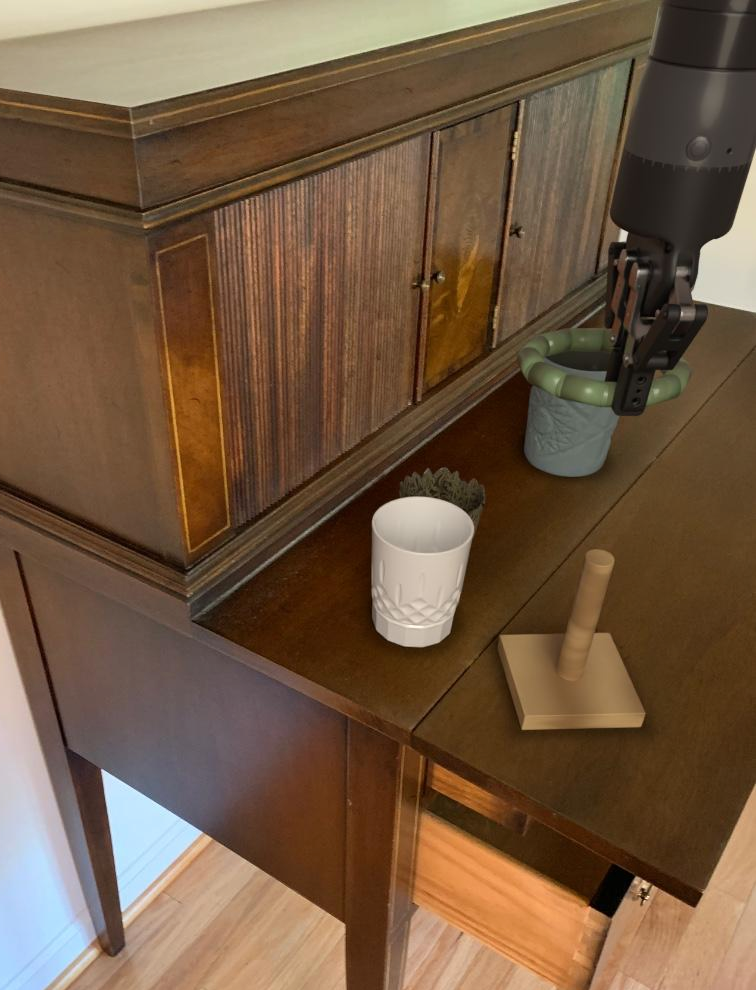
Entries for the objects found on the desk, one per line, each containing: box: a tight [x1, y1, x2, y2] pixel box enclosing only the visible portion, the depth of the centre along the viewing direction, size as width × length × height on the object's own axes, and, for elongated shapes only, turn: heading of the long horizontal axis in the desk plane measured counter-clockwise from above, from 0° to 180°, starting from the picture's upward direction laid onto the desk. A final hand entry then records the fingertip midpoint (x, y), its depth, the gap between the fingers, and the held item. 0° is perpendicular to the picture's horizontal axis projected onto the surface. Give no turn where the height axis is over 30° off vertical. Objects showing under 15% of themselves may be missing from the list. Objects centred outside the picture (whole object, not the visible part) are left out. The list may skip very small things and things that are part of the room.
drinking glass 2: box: [523, 351, 620, 478], centre depth 95 cm, size 10×10×12 cm
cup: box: [398, 466, 487, 541], centre depth 81 cm, size 8×7×8 cm
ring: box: [516, 327, 693, 408], centre depth 70 cm, size 13×13×2 cm
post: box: [497, 548, 647, 731], centre depth 68 cm, size 9×9×12 cm
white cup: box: [370, 497, 474, 648], centre depth 74 cm, size 8×8×10 cm
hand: (621, 404), depth 66 cm, fingers closed on ring, 2 cm apart
